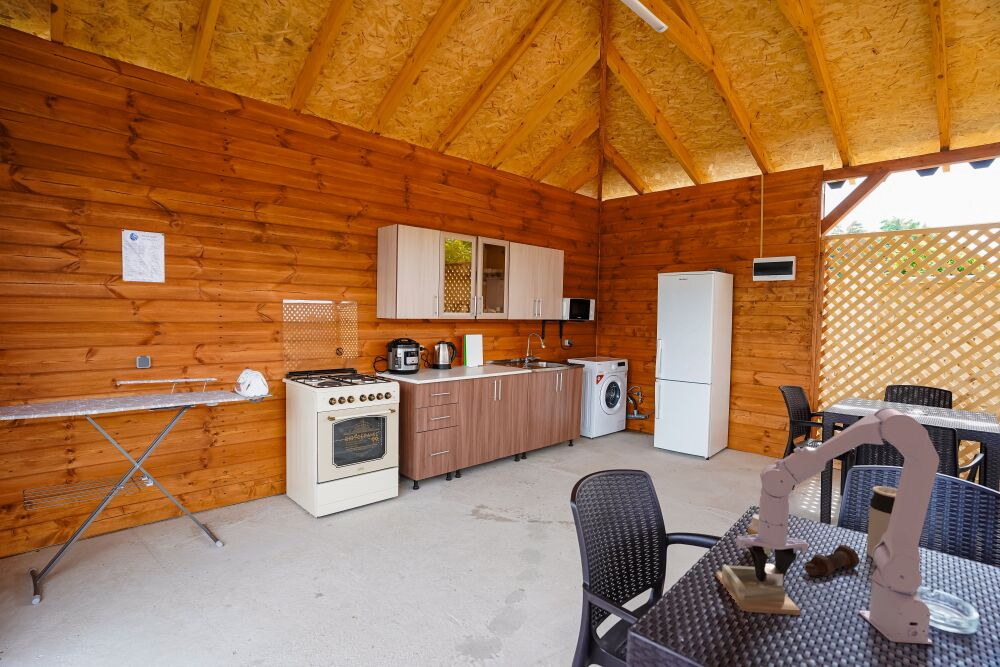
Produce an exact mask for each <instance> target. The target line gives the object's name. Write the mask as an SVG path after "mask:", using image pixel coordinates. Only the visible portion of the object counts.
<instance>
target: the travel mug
mask: <svg viewBox="0 0 1000 667" xmlns="http://www.w3.org/2000/svg"><path fill="white" fill-rule="evenodd" d="M897 489H898V488H894V487H890V486H881V485H876V486H873V487H872V491H873V495H872V497H871V498H870V501H869V514H868V525H867V526H868V527H867V541H866V554H867V556H869V557H870V558H872V551H873V549H874V547H875V546H876V545H878V544H879V543H880V541H881V538H882V535H883V534H884V533H885V532H886V531H887V529H888V525H889V521H890V517H891V513H892V509H893V505H894V501H895V497H896V493H897Z"/></svg>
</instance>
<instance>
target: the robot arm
mask: <svg viewBox="0 0 1000 667" xmlns="http://www.w3.org/2000/svg"><path fill="white" fill-rule="evenodd" d="M883 440H885V441H886V442H888V443H890V444H891V445H892V446H894V448H895V449H897V451H898V452H899V453H900V454H901V455H902V457H904V462H903V465H902V469H901V474H900V477H899V480H898V485H897V488H896V489H897V493H896V497H895V501H894V505H893V509H892V513H891V517H890V521H889V525H888V529H887V531H886V532H885V533H884V534H883V535H882V538H881V541H880V543H879V544H878V545H876V546H875V547H874V549H873V551H872V557H871V559H872V561H873V562H874V564H875V565H876V567H877V568H876V569H875V570H874V572H873V573H872V576H871V589H870V602H869V610H859V611H858V613H859V614H860V616H862V617H863V618H864V619H865V620H866V621H867V622H869V623H870V624H871V625H872V626H873V627H874V628H875V629H876V630H877V631H879V633H881V635H883V636H884V637H885V638H886V639H887V640H889V641H890V642H892V643H907V644H923V645H924V644H925V645H932V644H933V641H932V640H931V639H930V638H929V633H930V632H929V631H930V617H931V612H930V608H929V606H927V604H926V603H925V601H923V600H922V599H921V596H920V595H919V591H918V589H919V588H920V586H921V585H922V581H923V577H922V573H921V571H920V562H921V556H920V549H919V543H920V539H921V535H922V531H923V527H924V523H925V520H926V516H927V513H928V508H929V504H930V500H931V497H932V492H933V487H934V484H935V479H936V476H937V472H938V468H939V464H940V457H939V454H938V452H937V450H936V447H935V446H934V444H933V442H932V439H931V438H930V436H929V432H928V430H927V429H926V428H925V427H924V426H923V425H922V424H921V423H920V422H919V421H918V420H916V419H915V418H913V417H912V416H909V415H908V414H906V413H905V412H904V411H902V410H901V409H899V408H896V407H888V406H887V407H882V408H879V409H878V410H877V411H875V412H874V414H873V413H870V414H867V415H865V416H864V417H862V418H860V419H859V420H858V421H856V422H855V423H852V424H851V425H849V426H848V427H846V428H845V429H843V430H842V431H840V432H838V433H837V434H835V435H833V436H831V437H830V438H829V439H827V440H826V441H824V442H823V443H821V444H820V445H818V446H816V447H810V446H803V447H802V448H801V447H800V446H796V448H794V449H793V451H794V452H793V453H792V454H790V455H788V456H786V457H784V458H783V459H781V460H779V459H776V460H775V461H774V464H768V465H766V466H764V467H763V469H762V470H761V472H760V474H759V477H760V481H761V486H762V487H761V489H760V497H759V505H758V506H759V508H758V515H759V522H758V534H755V535H748V534H747V535H737V536H736V545H737V546H738V547H739V548H740V549H745V548H747V550H748V549H749V551H748V552H750V553H749V554H750V556H751V558H752V563H753V567H755V572H756V577H757V579H758V580H759V581H760V582H763V581H764V574H765V565H766V564H767V561H768V558H769V557H768V556H767V555H766V554H765V550H763V548H770V549H771V550H774V560H775V562H774V566H775V567H776V568H777V569H778V570H779V571H780V572H781V573H782V574H783V580H785V577H786V574H787V573H788V570H789V569H790V567H791V565H793V563H794V562H795V561H796V560H797V554H796V553H795V552H794V551H801V552H803V553H808V545H809V544H808V542H806V541H805V540H804V539H801V538H794V537H793V538H792V537H789V536H788V529H789V512H790V502H789V496H790V494H791V492H792V491H793V489H794V488H793V487H794V486H798V485H801V483H804V482H805V481H807V480H810V479H811V478H813V477H814V476H815V477H816V475H819V474H820V473H822V472H823V471H825V470H826V466H827V462H829V461H830V460H833V459H834V458H836V457H839V456H840V455H844V453H846V452H849V451H851V450H853V449H855V448H857V447H859V446H861V445H863V444H870V445H878V446H879V445H881V446H882V445H884V442H883Z"/></svg>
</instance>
